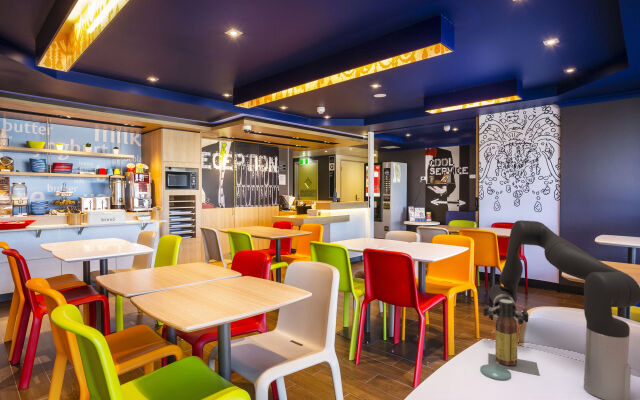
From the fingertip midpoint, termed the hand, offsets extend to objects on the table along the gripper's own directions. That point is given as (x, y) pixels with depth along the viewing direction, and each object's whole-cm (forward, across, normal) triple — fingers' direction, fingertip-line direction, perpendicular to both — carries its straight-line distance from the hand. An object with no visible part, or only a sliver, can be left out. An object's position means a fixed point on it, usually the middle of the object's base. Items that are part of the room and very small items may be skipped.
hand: (505, 319), depth 124 cm
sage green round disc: (+18, -3, +11) cm, 21 cm away
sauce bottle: (+9, 0, +11) cm, 14 cm away
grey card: (+9, +2, +11) cm, 14 cm away
